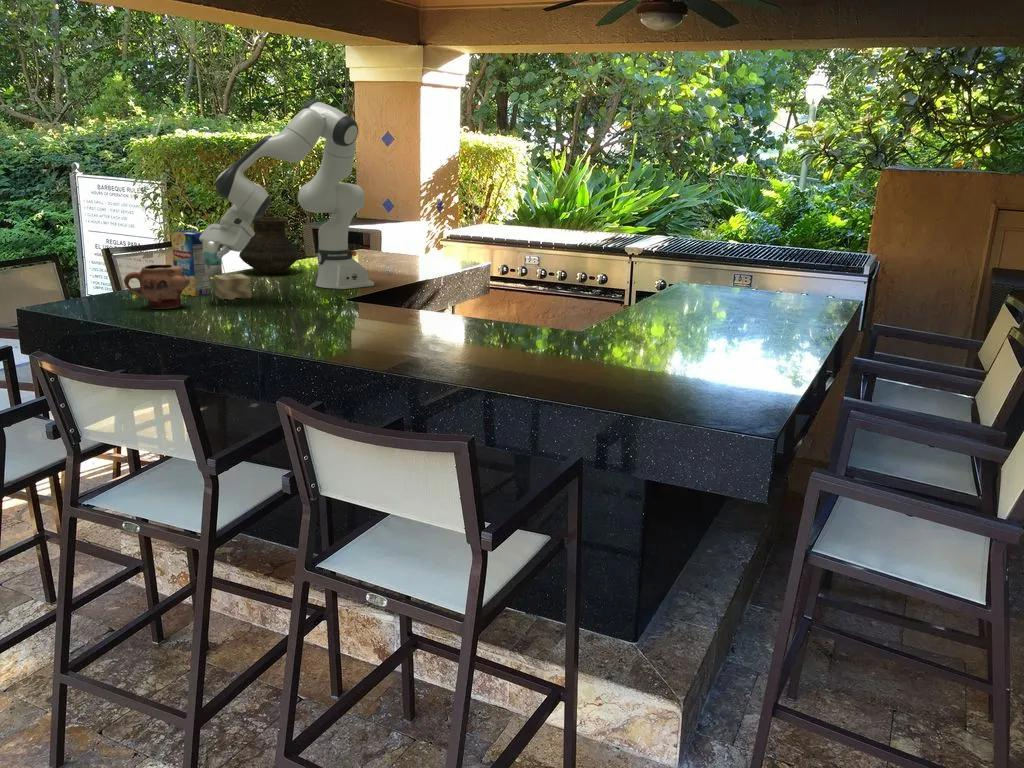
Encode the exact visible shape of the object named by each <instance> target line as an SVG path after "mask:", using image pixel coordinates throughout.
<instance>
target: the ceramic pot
mask: <svg viewBox="0 0 1024 768" xmlns="http://www.w3.org/2000/svg"><path fill="white" fill-rule="evenodd" d="M288 221H289V219H288V218H286V217H279V216H263V217H262V218H258V219H253V220H252V222H251V223H252V226H253V228H252V230H253V231H254V232H255V235H254V236H253V237H250V241H249V242H248V244H247V245H246V246H245V248H244V249H243V250H242V251H240V252H239V256H238V257H239V258H240V259H241V260H242V261H243V263H245V264H247V265H248V266H249V267H251V268H252V269H253V270H254V271H256V272H258V273H259V274H262V275H277V274H281V273H282V272H285V271H286V270H288V268H290V267H291V266H293V265H294V264H295V263H296V262H297V260H299V259H300V257H301V253H300V251H299V250H298V248H297V247H296V246H295V245H294V244H293V242H292V241H290V239H289V238H288V237H287V233H286V223H287V222H288Z"/></svg>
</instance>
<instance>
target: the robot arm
mask: <svg viewBox="0 0 1024 768" xmlns="http://www.w3.org/2000/svg"><path fill="white" fill-rule="evenodd" d="M358 134H359V127H358V123H357V121H356V120H355V119H354V118H353V117H352V116H350V115H347V114H346V113H345V112H343V111H341V109H338V108H337V107H333V106H331V105H330V104H326V103H325V102H323V101H321V100H319V99H313V98H312V99H309V100H307V101H305V103H304V104H302V106H301V109H300V111H299V112H298V113H297V114H295V115H294V117H292V119H290V120H289V122H288V123H287V125H286V126H285V127H284V128H283V129H282V130H281V132H279V133H277V134H275V135H269V134H268V135H265V136H264V137H262V138H260V139H259V141H257V143H255V144H254V145H253V146H252V147H250V149H249V150H247V151H246V152H245V153H244V154H243V155H242V156H240V158H238V159H237V161H235V162H234V163H233V164H232V165H231V166H229V167H228V168H226V169H225V170H223V171H222V172H221V173H220V174H219V175H218V176H217V177H216V179H215V182H214V187H215V189H216V194H218V195H219V196H221V197H222V198H224V199H225V200H228V201H229V202H230V203H232V205H231V207H229V208H228V209H227V211H226V212H225V213H224V214H223V216H222V217H221V219H220V220H219V221H216V222H214V223H211V224H209V225H208V226H207V227H206V228H205V229H204V230H203V231H202V232H203V233H202V234H201V235H200V238H199V240H200V241H201V242H202V243H203V241H204V240H216V241H220V244H221V250H220V251H219V252H217V253H216V254H215V257H216V258H217V259H223V257H224V256H225V255H227V254H228V253H230V251H233V252H238V253H240V252H241V251H242V250H243V249H244V248H245V246H246V245H247V244H248V242H249V241H250V238H251V237H253V236H254V235H255V232H254V231H253V228H252V227H251V225H252V223H253V222H252V220H253V219H258V218H262V217H264V215H265V213H266V212H267V210H268V209H269V208H270V207H271V206H272V199H271V196H270V194H268V191H267V190H266V188H265V187H263V186H262V185H260V184H258V183H255V182H253V181H252V180H251V179H249V178H248V177H246V176H245V174H244V172H245V171H247V170H248V168H250V167H251V166H252V165H253V164H254V163H256V161H257V160H258V159H260V158H262V157H270V158H274V159H277V160H279V161H283V162H287V163H299V162H301V161H303V160H305V158H306V157H307V156H308V155H309V154H310V153H311V152H312V150H313V149H314V147H315V145H316V144H317V143H318V141H319V140H320V137H321V139H322V138H323V139H325V143H324V146H323V147H324V148H323V155H322V158H321V163H320V167H319V168H318V171H317V172H316V174H315V175H314V176H313V177H312V179H310V181H308V182H307V183H305V184H303V185H302V186H301V187H300V188H299V190H298V193H297V200H298V203H299V206H300V207H301V208H302V209H303V211H305V212H310V213H316V214H320V213H323V214H325V213H331V216H330V218H329V219H328V220H327V221H326V222H324V223H322V224H321V225H320V226H319V228H318V231H317V232H318V233H317V237H318V249H317V255H316V256H317V263H318V270H317V278H316V283H315V286H316V287H319V288H325V289H337V290H346V289H347V290H349V289H356V288H364V287H372V286H374V285H375V282H374V281H372V280H370V279H369V275H368V270H367V269H366V268H365V267H364V266H363V265H362V264H360V263H359V262H358V261H357V260H355V259H354V258H353V257H356V256H357V255H358V252H357V251H356V250H352V249H349V243H348V242H349V228H350V224H351V222H352V220H353V218H354V217H355V215H356V214H357V213H358V212H359V211H360V210H361V209H362V208H363V206H364V205H365V201H366V196H365V192H364V190H363V188H362V187H361V186H360V185H359V184H355V183H350V182H342V181H344V180H345V179H347V178H348V177H350V175H351V174H352V171H353V167H354V162H355V161H354V160H355V155H356V146H357V139H358ZM202 254H203V252H202Z"/></svg>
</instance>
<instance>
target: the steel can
mask: <svg viewBox="0 0 1024 768" xmlns="http://www.w3.org/2000/svg"><path fill="white" fill-rule="evenodd" d="M220 250H222V248H221V244H220V241H216V240H204V241H203V258H204V271H205V275H210V276H218V275H223V265H222V264H223V263H222V262H223V260H222V259H223V258H221V259H217V258H216V257H215V254H216V253H217V252H219V251H220Z"/></svg>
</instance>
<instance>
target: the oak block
mask: <svg viewBox="0 0 1024 768" xmlns="http://www.w3.org/2000/svg"><path fill="white" fill-rule="evenodd" d="M213 281H214V283H213V284H214V285H213V286H214V294H215V297H217V296H218V297H217V298H219V299H221V300H222V299H223V301H225V300H224V299H228V300H236V299H235V298H242V299H252V298H251V297H252V283H251V282H252V281H251V277H249V276H247V275H245V274H242V273H237V274H221V275H213Z"/></svg>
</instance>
